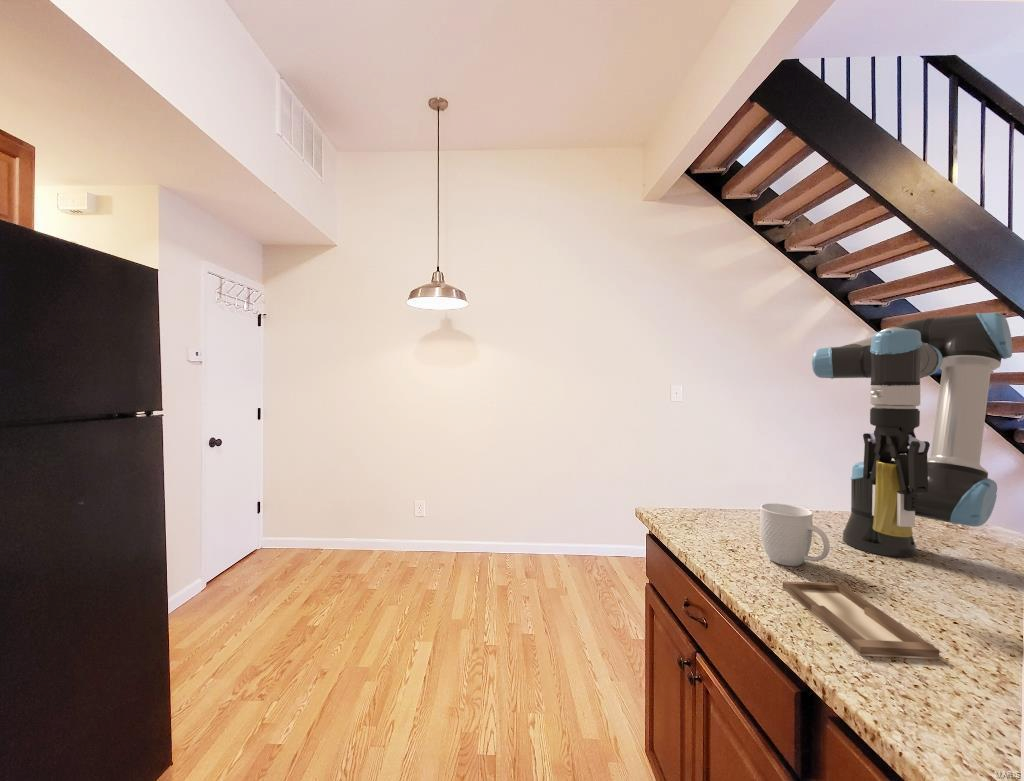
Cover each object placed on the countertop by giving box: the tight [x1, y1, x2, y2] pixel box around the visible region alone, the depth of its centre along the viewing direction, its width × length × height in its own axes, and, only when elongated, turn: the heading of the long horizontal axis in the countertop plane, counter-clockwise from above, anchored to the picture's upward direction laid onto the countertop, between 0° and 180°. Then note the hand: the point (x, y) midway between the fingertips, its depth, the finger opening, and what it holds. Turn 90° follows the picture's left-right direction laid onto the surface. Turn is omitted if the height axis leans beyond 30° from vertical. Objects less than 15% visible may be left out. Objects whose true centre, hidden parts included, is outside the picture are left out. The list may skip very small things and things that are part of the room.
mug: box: [759, 502, 831, 567], centre depth 105 cm, size 15×11×13 cm
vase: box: [873, 460, 913, 537], centre depth 87 cm, size 6×6×14 cm
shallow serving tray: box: [782, 581, 940, 660], centre depth 81 cm, size 12×23×2 cm, turn 176°
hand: (892, 520), depth 87 cm, fingers closed on vase, 6 cm apart
